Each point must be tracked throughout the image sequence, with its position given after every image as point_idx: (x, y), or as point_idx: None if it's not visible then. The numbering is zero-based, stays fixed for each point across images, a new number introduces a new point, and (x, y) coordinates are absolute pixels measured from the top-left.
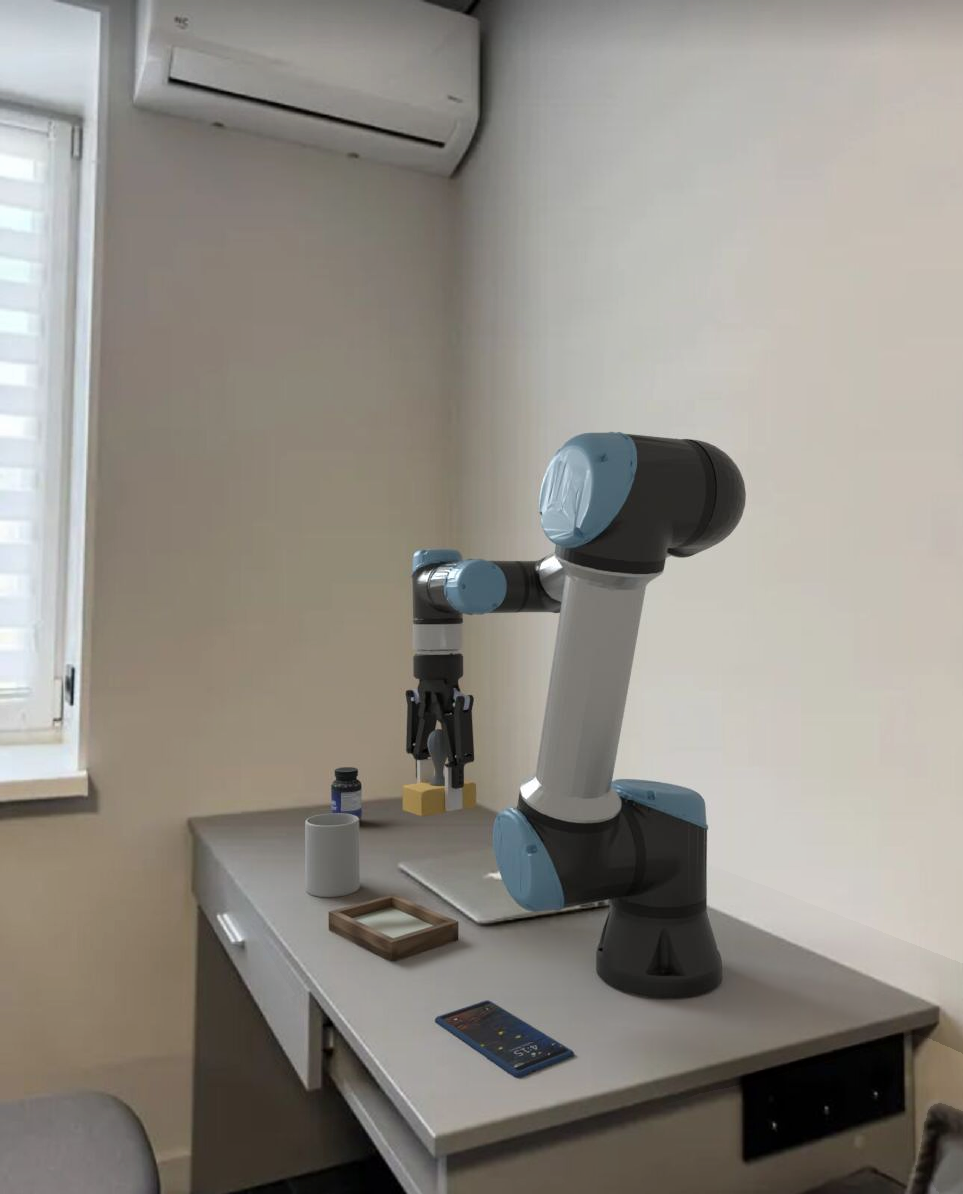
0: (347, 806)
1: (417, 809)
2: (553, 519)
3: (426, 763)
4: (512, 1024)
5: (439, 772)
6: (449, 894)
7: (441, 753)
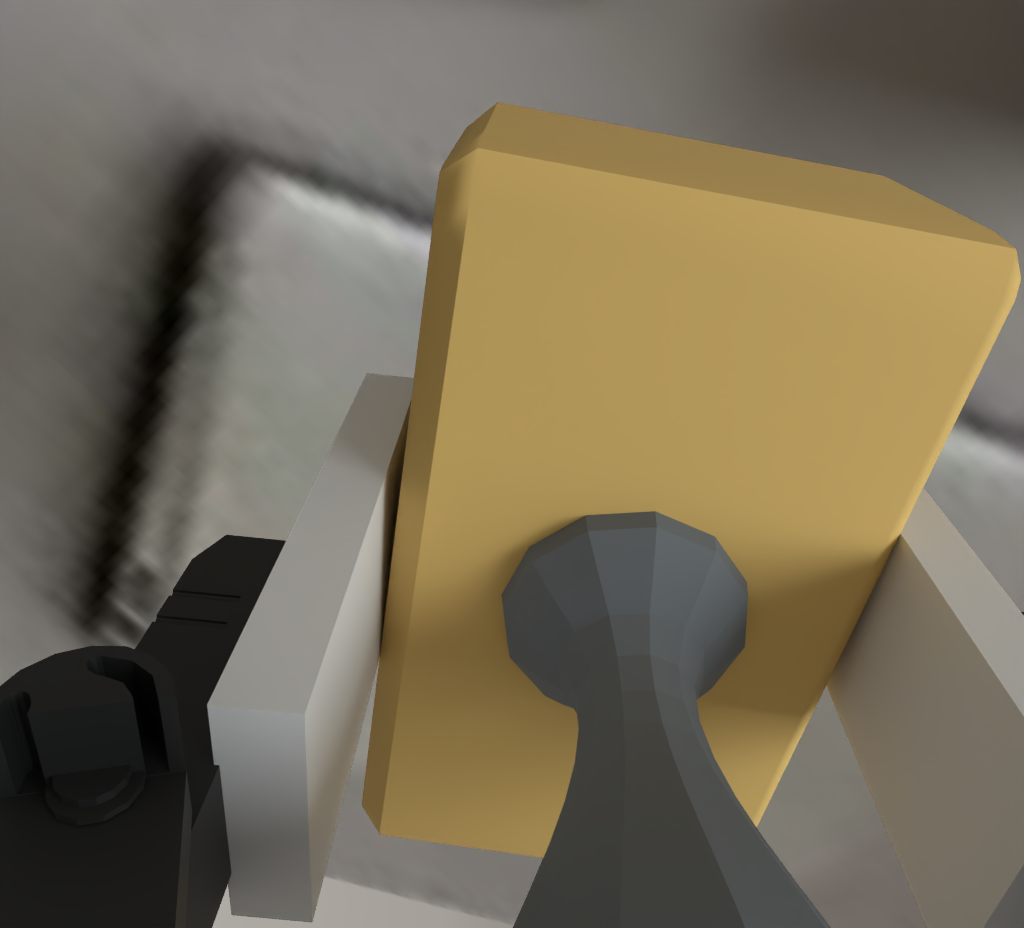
0: None
1: (578, 125)
2: None
3: (981, 833)
4: None
5: (592, 702)
6: None
7: None
